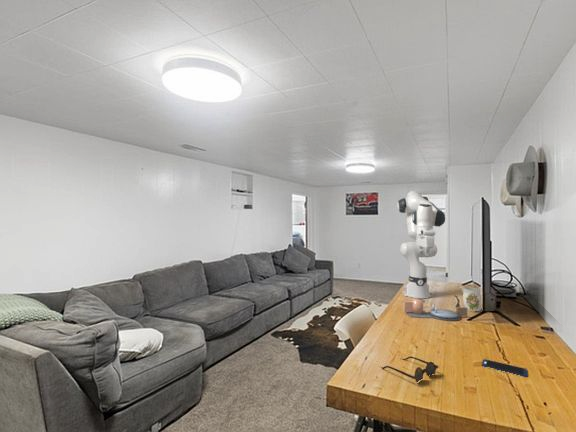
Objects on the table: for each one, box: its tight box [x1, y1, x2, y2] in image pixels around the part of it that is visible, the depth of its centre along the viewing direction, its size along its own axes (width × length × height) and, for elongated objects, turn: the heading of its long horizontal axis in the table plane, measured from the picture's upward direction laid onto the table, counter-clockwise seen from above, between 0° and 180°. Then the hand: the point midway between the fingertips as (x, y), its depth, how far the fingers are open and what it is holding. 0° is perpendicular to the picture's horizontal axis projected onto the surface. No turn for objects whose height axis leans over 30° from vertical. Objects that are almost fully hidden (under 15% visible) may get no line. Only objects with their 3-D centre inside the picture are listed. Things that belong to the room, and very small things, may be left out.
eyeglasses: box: [380, 355, 439, 383], centre depth 116 cm, size 15×15×5 cm
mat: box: [402, 308, 433, 319], centre depth 186 cm, size 14×12×1 cm
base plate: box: [427, 311, 462, 322], centre depth 183 cm, size 17×17×1 cm
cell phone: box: [481, 358, 528, 378], centre depth 119 cm, size 7×14×1 cm, turn 55°
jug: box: [403, 297, 426, 315], centre depth 186 cm, size 6×12×8 cm, turn 85°
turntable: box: [429, 303, 468, 319], centre depth 183 cm, size 20×14×5 cm
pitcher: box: [458, 285, 482, 312], centre depth 196 cm, size 11×18×14 cm, turn 61°
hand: (424, 254), depth 189 cm, fingers open, 8 cm apart
